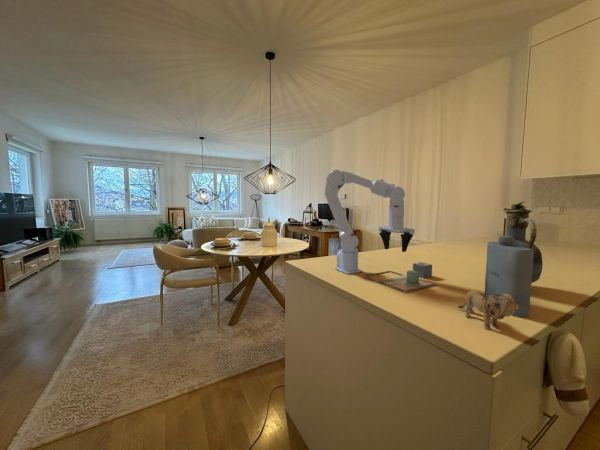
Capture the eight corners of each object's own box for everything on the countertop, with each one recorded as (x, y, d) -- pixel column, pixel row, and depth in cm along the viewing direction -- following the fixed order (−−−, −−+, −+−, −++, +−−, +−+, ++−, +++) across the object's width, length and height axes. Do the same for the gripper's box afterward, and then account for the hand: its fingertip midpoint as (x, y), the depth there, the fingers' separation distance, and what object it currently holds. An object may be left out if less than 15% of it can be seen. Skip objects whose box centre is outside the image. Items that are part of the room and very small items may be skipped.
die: (412, 275, 101) (412, 263, 100) (420, 273, 103) (421, 262, 103) (423, 278, 96) (424, 266, 96) (431, 277, 99) (432, 264, 98)
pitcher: (520, 282, 91) (526, 201, 89) (552, 301, 73) (560, 200, 71) (485, 279, 95) (490, 201, 93) (507, 296, 77) (514, 200, 75)
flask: (478, 295, 78) (481, 233, 77) (498, 296, 77) (503, 233, 76) (507, 316, 64) (512, 240, 62) (533, 318, 63) (539, 240, 61)
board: (361, 276, 99) (361, 275, 99) (390, 271, 107) (390, 270, 107) (405, 293, 81) (405, 291, 81) (436, 285, 88) (436, 283, 88)
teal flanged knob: (402, 283, 89) (402, 271, 88) (411, 281, 91) (411, 269, 91) (413, 287, 84) (414, 274, 84) (423, 285, 87) (423, 272, 86)
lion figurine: (521, 335, 55) (524, 296, 54) (501, 338, 54) (504, 298, 53) (465, 308, 69) (467, 277, 68) (449, 310, 68) (450, 278, 67)
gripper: (374, 216, 102) (374, 248, 103) (408, 218, 91) (407, 254, 92) (384, 216, 106) (383, 247, 108) (417, 217, 95) (416, 252, 96)
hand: (395, 250), depth 100 cm, fingers open, 7 cm apart
